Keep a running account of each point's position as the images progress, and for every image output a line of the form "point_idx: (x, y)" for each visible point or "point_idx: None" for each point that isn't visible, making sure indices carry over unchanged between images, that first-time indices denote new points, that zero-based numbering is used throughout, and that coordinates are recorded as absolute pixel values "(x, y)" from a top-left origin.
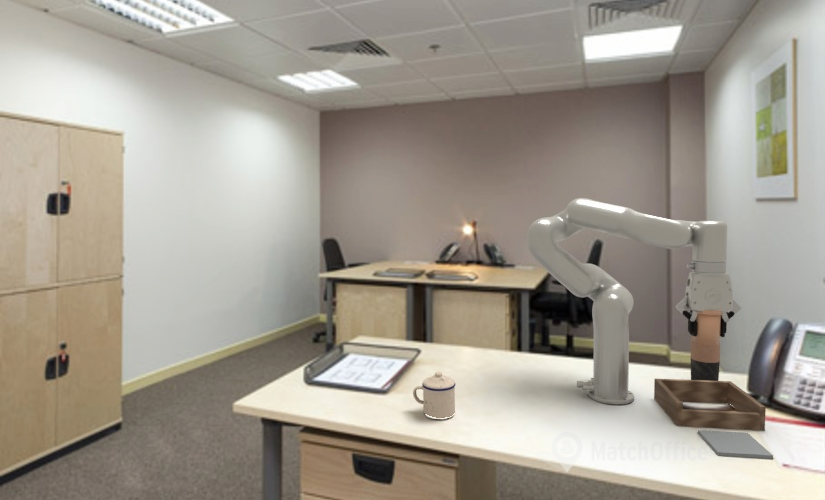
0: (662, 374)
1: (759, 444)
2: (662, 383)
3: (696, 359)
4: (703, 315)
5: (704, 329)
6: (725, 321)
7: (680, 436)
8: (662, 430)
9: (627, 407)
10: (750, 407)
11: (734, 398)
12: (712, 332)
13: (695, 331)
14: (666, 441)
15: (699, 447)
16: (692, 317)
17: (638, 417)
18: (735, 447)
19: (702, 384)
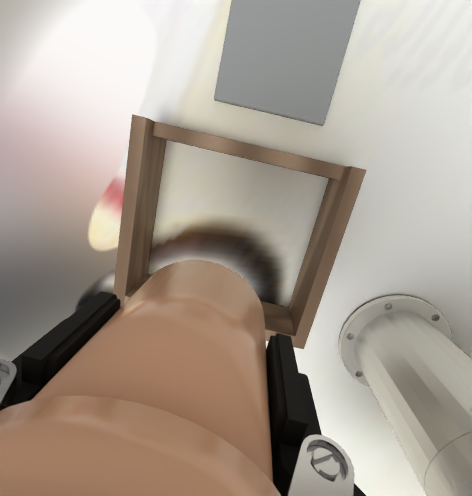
0: None
1: (229, 28)
2: (306, 313)
3: None
4: (241, 462)
5: (239, 332)
6: (9, 365)
7: (375, 112)
8: (396, 149)
9: (390, 281)
10: (148, 171)
11: (141, 250)
12: (190, 296)
13: (288, 352)
14: (430, 87)
15: (372, 46)
16: (336, 481)
17: (403, 225)
18: (301, 13)
19: None
